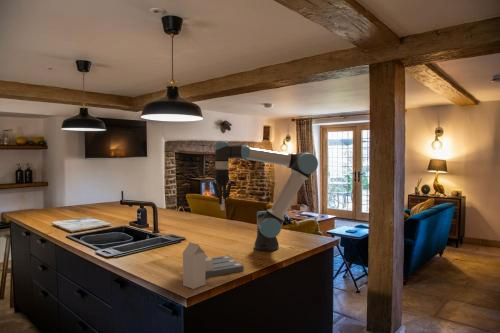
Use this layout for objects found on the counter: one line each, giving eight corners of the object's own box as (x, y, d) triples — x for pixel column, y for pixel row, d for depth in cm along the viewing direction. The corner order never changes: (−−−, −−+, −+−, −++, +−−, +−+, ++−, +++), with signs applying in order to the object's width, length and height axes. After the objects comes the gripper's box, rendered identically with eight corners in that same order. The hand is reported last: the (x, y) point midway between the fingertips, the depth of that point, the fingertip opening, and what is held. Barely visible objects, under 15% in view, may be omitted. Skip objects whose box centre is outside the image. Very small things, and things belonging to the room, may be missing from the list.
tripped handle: (205, 263, 180) (205, 253, 180) (207, 265, 177) (207, 255, 177) (197, 264, 179) (197, 254, 178) (200, 266, 175) (199, 256, 175)
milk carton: (193, 289, 153) (192, 246, 153) (183, 285, 158) (182, 243, 157) (205, 284, 159) (205, 243, 158) (195, 281, 163) (194, 240, 163)
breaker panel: (227, 259, 195) (227, 246, 195) (243, 270, 177) (243, 255, 177) (185, 266, 184) (185, 252, 184) (197, 278, 166) (197, 263, 166)
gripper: (213, 169, 195) (214, 211, 196) (235, 168, 201) (235, 210, 202) (209, 168, 202) (209, 209, 203) (229, 168, 208) (230, 208, 209)
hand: (222, 209), depth 202 cm, fingers closed
